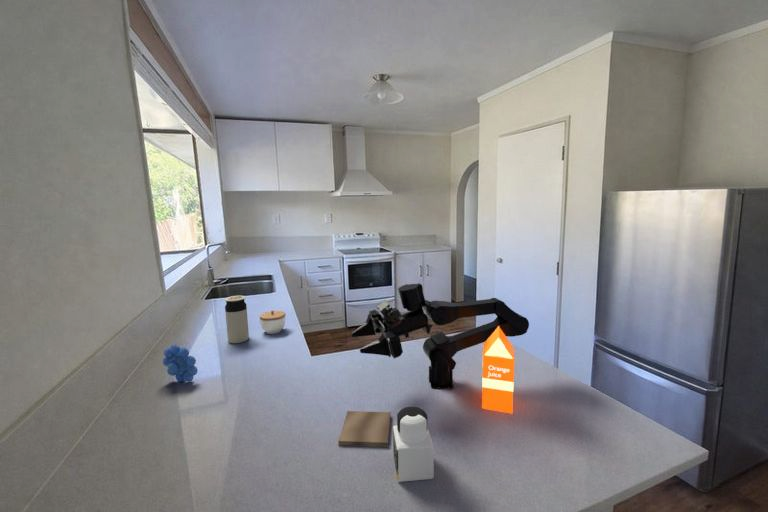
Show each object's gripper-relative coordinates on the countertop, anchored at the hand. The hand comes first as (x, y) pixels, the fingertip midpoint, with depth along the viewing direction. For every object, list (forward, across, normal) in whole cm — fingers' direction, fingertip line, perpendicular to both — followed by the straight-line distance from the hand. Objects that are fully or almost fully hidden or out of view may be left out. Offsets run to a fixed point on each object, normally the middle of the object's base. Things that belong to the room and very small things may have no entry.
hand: (355, 342), depth 89 cm
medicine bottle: (-1, +30, +14) cm, 33 cm away
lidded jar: (+26, -62, +18) cm, 69 cm away
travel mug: (+40, -57, +14) cm, 70 cm away
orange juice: (-30, +17, +22) cm, 41 cm away
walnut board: (+5, +16, +14) cm, 21 cm away
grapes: (+53, -26, +7) cm, 59 cm away
